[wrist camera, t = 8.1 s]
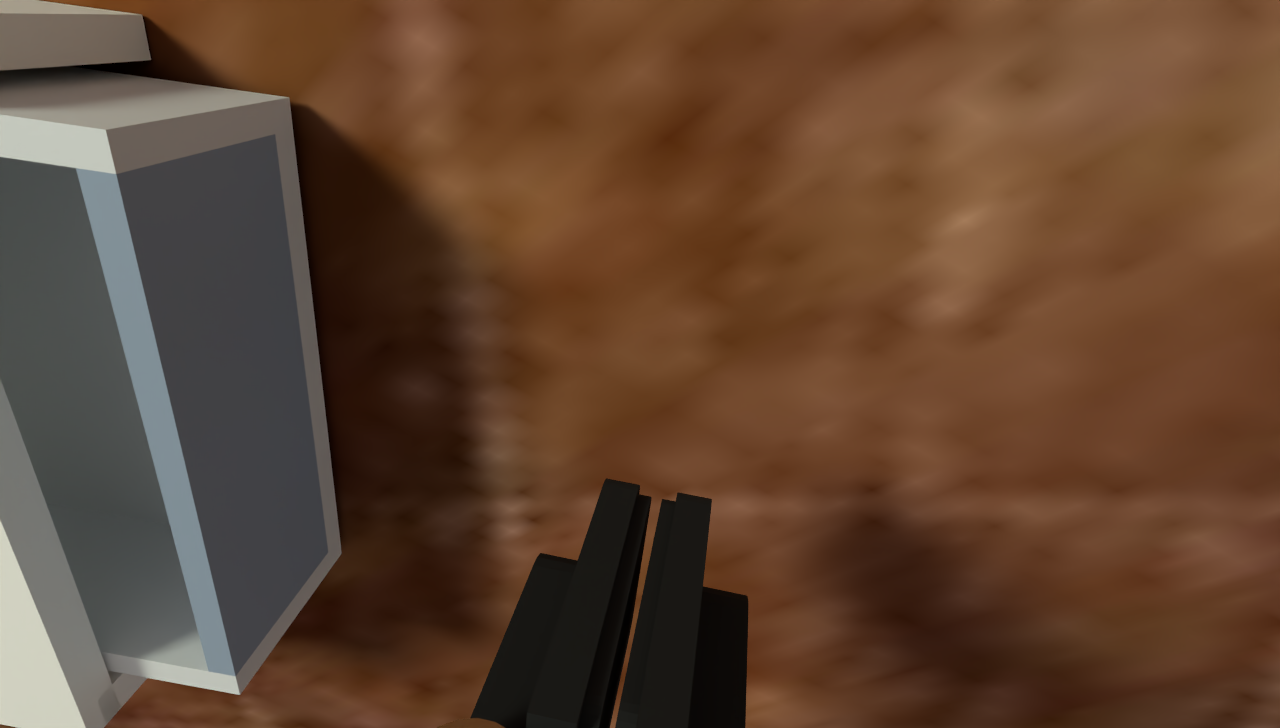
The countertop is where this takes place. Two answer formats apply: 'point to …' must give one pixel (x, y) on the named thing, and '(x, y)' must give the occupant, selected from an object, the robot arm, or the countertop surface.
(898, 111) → the countertop surface
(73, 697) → the sleeve
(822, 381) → the countertop surface
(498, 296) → the countertop surface
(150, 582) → the white sliding drawer box
